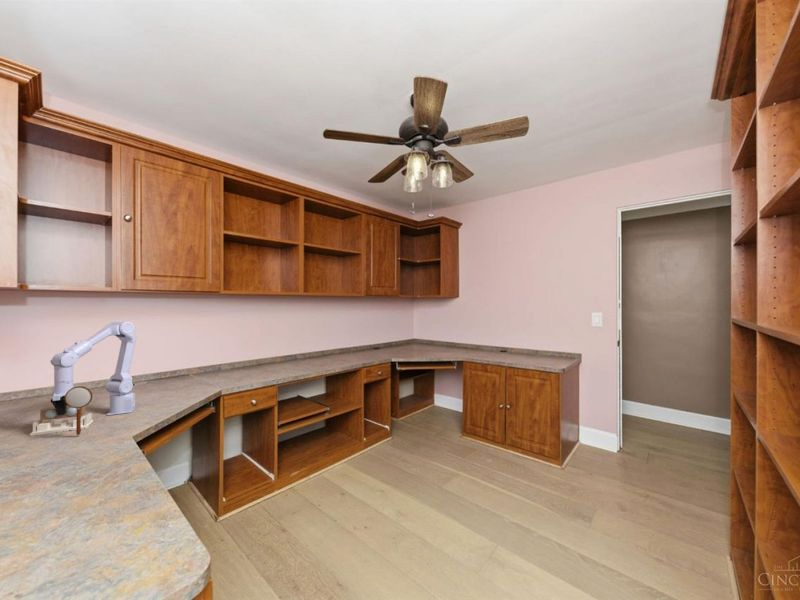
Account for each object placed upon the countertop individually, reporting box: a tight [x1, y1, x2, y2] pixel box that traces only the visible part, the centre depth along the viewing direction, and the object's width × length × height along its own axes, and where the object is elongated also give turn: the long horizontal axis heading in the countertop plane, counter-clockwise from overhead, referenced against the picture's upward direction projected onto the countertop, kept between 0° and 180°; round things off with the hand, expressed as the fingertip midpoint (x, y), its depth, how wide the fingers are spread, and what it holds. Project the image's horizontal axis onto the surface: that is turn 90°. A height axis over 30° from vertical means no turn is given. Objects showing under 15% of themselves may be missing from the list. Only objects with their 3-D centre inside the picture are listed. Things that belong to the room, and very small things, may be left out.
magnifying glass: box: [65, 385, 93, 437], centre depth 134 cm, size 9×2×20 cm, turn 110°
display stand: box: [29, 412, 95, 437], centre depth 142 cm, size 17×9×4 cm, turn 117°
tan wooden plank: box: [39, 405, 86, 421], centre depth 142 cm, size 13×4×4 cm, turn 117°
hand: (63, 413), depth 142 cm, fingers closed on tan wooden plank, 4 cm apart
